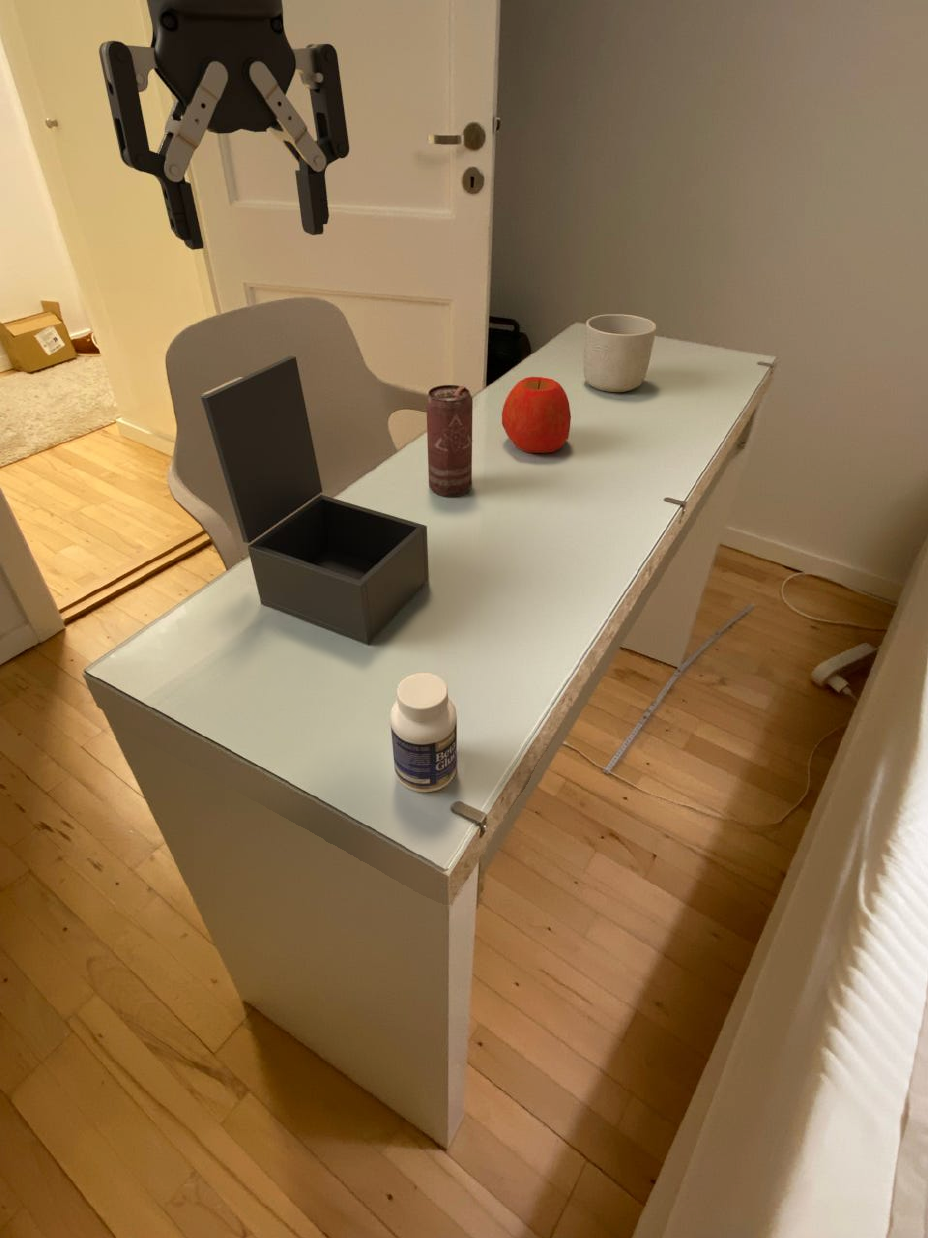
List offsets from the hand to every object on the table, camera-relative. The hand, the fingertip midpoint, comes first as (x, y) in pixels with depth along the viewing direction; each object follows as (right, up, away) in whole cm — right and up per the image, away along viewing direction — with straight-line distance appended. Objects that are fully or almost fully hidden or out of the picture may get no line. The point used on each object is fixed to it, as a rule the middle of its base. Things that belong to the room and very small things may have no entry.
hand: (255, 239), depth 47 cm
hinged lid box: (+1, -23, +31) cm, 39 cm away
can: (+13, -7, +51) cm, 53 cm away
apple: (+26, +1, +62) cm, 67 cm away
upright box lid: (-6, -9, +24) cm, 26 cm away
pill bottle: (+11, -39, +12) cm, 43 cm away
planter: (+42, +18, +81) cm, 93 cm away
